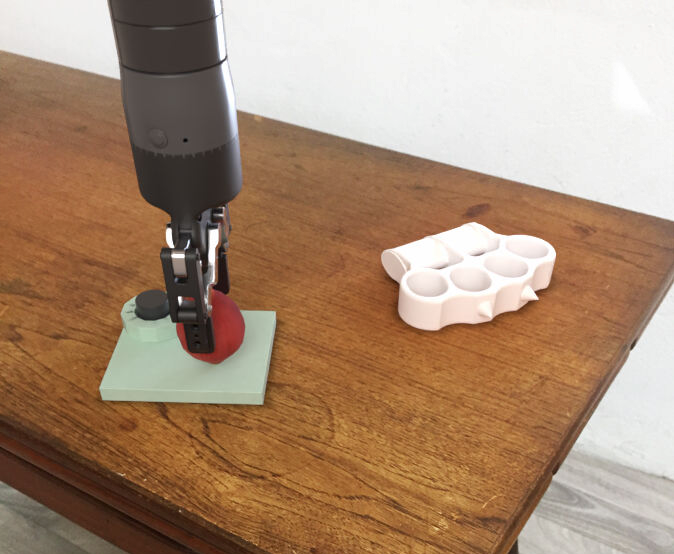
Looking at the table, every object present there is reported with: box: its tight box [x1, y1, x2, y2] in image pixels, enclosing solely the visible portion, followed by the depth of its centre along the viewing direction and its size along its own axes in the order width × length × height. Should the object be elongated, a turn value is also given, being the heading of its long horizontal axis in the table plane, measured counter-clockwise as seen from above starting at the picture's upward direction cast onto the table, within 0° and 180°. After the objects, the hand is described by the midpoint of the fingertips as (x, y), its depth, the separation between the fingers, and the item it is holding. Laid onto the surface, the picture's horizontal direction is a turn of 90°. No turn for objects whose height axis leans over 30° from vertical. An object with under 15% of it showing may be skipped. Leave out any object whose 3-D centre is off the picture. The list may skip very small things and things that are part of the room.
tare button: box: [135, 289, 170, 321], centre depth 69 cm, size 3×3×2 cm
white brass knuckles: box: [380, 221, 557, 332], centre depth 76 cm, size 3×18×15 cm
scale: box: [98, 291, 277, 406], centre depth 68 cm, size 14×12×3 cm
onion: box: [176, 289, 246, 364], centre depth 63 cm, size 6×6×8 cm
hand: (210, 320), depth 63 cm, fingers open, 8 cm apart
